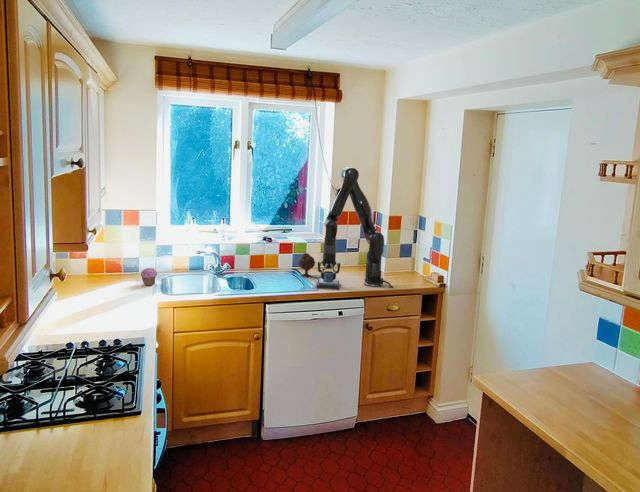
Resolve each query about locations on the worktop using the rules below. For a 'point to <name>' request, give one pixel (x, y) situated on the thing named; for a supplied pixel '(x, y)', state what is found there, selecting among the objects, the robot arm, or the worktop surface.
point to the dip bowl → (328, 276)
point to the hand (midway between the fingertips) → (328, 279)
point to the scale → (328, 284)
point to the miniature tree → (306, 263)
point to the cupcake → (148, 276)
